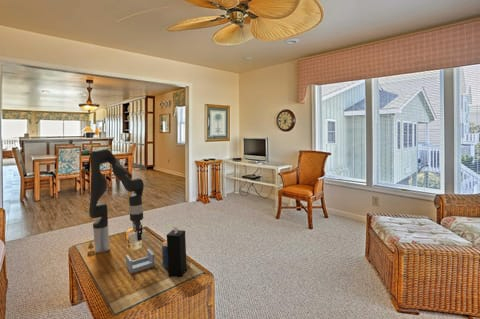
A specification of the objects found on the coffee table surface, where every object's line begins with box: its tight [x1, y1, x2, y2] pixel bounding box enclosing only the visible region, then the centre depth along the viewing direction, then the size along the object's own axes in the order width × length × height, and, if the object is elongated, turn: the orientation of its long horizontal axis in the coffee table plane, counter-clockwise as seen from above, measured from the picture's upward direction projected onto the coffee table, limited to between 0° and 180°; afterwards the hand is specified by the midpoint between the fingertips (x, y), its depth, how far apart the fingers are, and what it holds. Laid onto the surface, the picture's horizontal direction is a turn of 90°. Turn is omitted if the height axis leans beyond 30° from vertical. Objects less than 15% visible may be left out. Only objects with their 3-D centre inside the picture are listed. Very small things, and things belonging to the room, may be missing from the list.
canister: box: [161, 239, 168, 270], centre depth 161 cm, size 13×13×18 cm
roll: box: [128, 229, 148, 244], centre depth 158 cm, size 9×6×6 cm
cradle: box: [125, 248, 155, 274], centre depth 160 cm, size 10×14×8 cm
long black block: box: [166, 226, 188, 278], centre depth 150 cm, size 8×8×28 cm
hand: (138, 238), depth 158 cm, fingers closed on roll, 5 cm apart
